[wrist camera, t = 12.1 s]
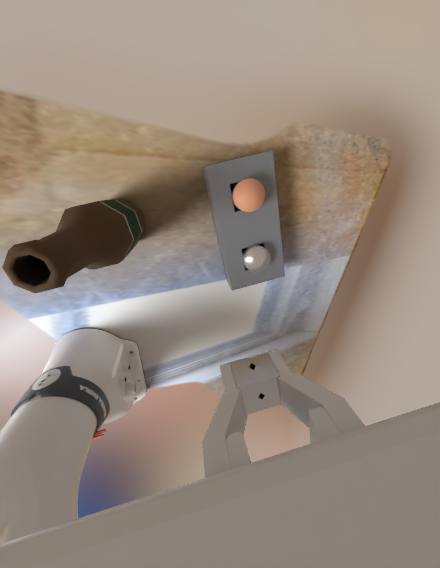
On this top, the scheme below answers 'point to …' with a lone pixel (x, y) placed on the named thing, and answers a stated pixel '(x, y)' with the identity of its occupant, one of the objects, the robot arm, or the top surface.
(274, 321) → the top surface
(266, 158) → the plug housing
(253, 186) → the mushroom push button
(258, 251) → the grey mushroom plug
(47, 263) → the beer bottle
